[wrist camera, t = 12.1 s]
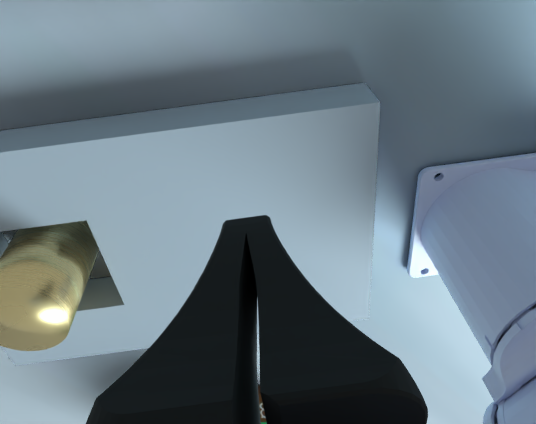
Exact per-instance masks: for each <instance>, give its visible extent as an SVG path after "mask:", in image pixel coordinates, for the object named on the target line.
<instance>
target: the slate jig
mask: <svg viewBox="0 0 536 424" xmlns="http://www.w3.org/2000/svg"><path fill="white" fill-rule="evenodd" d="M379 121H380V101H379V100H378V99H377V97H376V96H375V95H374V93H373V92H372V91H371V90H370V88H369V87H368V86H367V84H366V83H358V84H350V85H342V86H335V87H327V88H320V89H312V90H305V91H297V92H289V93H282V94H274V95H267V96H259V97H252V98H244V99H236V100H229V101H221V102H214V103H206V104H199V105H191V106H183V107H176V108H168V109H161V110H153V111H146V112H138V113H131V114H123V115H115V116H108V117H100V118H93V119H85V120H78V121H70V122H62V123H55V124H47V125H40V126H32V127H25V128H17V129H9V130H2V131H0V257H1V256H2V254H3V252H4V251H5V249H6V248H7V246H8V245H9V244H8V242H7V241H6V239H5V237H4V236H3V234H2V231H10V230H17V229H25V228H32V227H40V226H47V225H55V224H63V223H70V222H78V221H85V220H87V223H88V225H89V227H90V229H91V231H92V234H93V236H94V238H95V240H96V243H97V245H98V247H99V249H100V252H101V254H102V256H103V258H104V260H105V263H106V265H107V267H108V269H109V272H110V274H111V276H112V277H105V278H97V279H90V280H88V282H87V284H86V287H85V290H84V293H83V295H82V298H81V301H80V303H79V306H78V309H77V311H76V314H75V317H74V319H73V322H72V325H71V328H70V330H69V333H68V335H67V337H66V338H65V339H64V340H63V341H62V342H61V343H60V344H58V345H56V346H54V347H52V348H49V349H45V350H40V351H20V350H14V349H9V348H6V347H2V346H0V347H1V348H2V349H3V350H4V352H5V353H6V354H7V356H8V357H9V358H10V360H11V361H12V362H13V363H14V365H15V366H18V365H26V364H33V363H41V362H48V361H56V360H64V359H71V358H79V357H86V356H94V355H101V354H109V353H116V352H124V351H131V350H139V349H146V348H149V347H150V346H151V345H152V344H153V343H154V342H155V341H156V340H157V339H158V337H159V336H160V335H161V334H162V333H163V331H164V330H165V329H166V327H167V326H168V325H169V324H170V322H171V321H172V320H173V318H174V317H175V316H176V314H177V313H178V312H179V310H180V309H181V307H182V306H183V304H184V303H185V301H186V300H187V298H188V297H189V295H190V294H191V292H192V290H193V289H194V287H195V285H196V283H197V282H198V280H199V278H200V276H201V274H202V273H203V271H204V269H205V267H206V265H207V263H208V261H209V258H210V256H211V254H212V252H213V250H214V248H215V245H216V243H217V240H218V238H219V235H220V232H221V229H222V225H223V223H224V222H225V221H226V220H231V219H239V218H246V217H254V216H261V215H267V216H269V217H270V219H271V223H272V225H273V228H274V230H275V232H276V234H277V236H278V238H279V240H280V242H281V243H282V245H283V247H284V248H285V250H286V251H287V253H288V255H289V256H290V258H291V259H292V261H293V262H294V263H295V265H296V266H297V268H298V269H299V270H300V271H301V273H302V274H303V275H304V277H305V278H306V279H307V280H308V281H309V283H310V284H311V285H312V286H313V287H314V288H315V290H316V291H317V292H318V293H319V294H320V295H321V296H322V297H323V298H324V299H325V300H326V301H327V302H328V303H329V304H330V305H331V306H332V307H333V308H334V309H335V310H336V311H337V312H339V313H340V314H341V315H342V316H343V317H344V318H345V319H347V320H348V321H357V320H364V319H369V315H370V295H371V276H372V257H373V237H374V218H375V198H376V179H377V160H378V140H379ZM257 334H259V318H258V298H257Z"/></svg>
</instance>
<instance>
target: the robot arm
mask: <svg viewBox="0 0 536 424" xmlns="http://www.w3.org/2000/svg"><path fill="white" fill-rule="evenodd" d="M438 173H441V174H440V175H439V176H438V177H436V178H434V177H435V175H436V174H438ZM424 268H425V269H424ZM422 269H424V270H422ZM407 272H408V274H409V276H410V277H415V278H416V277H424V276H431V275H440V277H441V278H442V280H443V282H444V284H445V285H446V287H447V289H448V291H449V292H450V294H451V296H452V298H453V299H454V301H455V303H456V304H457V306H458V308H459V310H460V311H461V313H462V315H463V317H464V318H465V320H466V322H467V324H468V325H469V327H470V329H471V330H472V332H473V334H474V336H475V337H476V339H477V341H478V343H479V344H480V346H481V348H482V350H483V351H484V353H485V355H486V356H487V358H488V360H489V362H490V363H491V365H492V367H491V369H490V370H489V372H488V373H487V374H486V375H485V376H484V377H483V378H482V380H483V381H484V383H485V385H486V387H487V389H488V391H489V393H490V394H491V396H492V398H493V400H494V402H493V403H491V404H490V405H489V406H488V407H487V409H486V411H485V414H484V418H483V424H536V153H531V154H523V155H516V156H508V157H501V158H493V159H486V160H478V161H471V162H463V163H456V164H448V165H440V166H433V167H427V168H424V169H423V170H421V172H420V173H419V175H418V182H417V190H416V199H415V207H414V215H413V224H412V232H411V241H410V249H409V258H408V266H407ZM257 298H258V318H259V345H260V393H261V398H262V403H263V408H264V412H265V417H266V422H267V424H426V423H427V418H428V409H427V406H426V404H425V401H424V398H423V396H422V394H421V392H420V391H419V389H418V387H417V385H416V383H415V381H414V380H413V378H412V377H411V375H410V373H409V372H408V370H407V369H406V367H405V366H404V364H403V363H402V361H401V360H400V359H399V358H398V357H396V356H395V355H393V354H392V353H390V352H389V351H387V350H386V349H384V348H383V347H381V346H380V345H378V344H377V343H376V342H374V341H373V340H371V339H370V338H369V337H367V336H366V335H365V334H364V333H362V332H361V331H360V330H358V329H357V328H356V327H355V326H353V325H352V324H351V323H350V322H349V321H348V320H347V319H345V318H344V317H343V316H342V315H341V314H340V313H339V312H337V311H336V310H335V309H334V308H333V307H332V306H331V305H330V304H329V303H328V302H327V301H326V300H325V299H324V298H323V297H322V296H321V295H320V294H319V293H318V292H317V291H316V290H315V288H314V287H313V286H312V285H311V284H310V283H309V281H308V280H307V279H306V278H305V277H304V275H303V274H302V273H301V271H300V270H299V269H298V268H297V266H296V265H295V263H294V262H293V261H292V259H291V258H290V256H289V255H288V253H287V251H286V250H285V248H284V247H283V245H282V243H281V242H280V240H279V238H278V236H277V234H276V232H275V230H274V228H273V225H272V223H271V219H270V217H269V216H267V215H261V216H254V217H246V218H239V219H231V220H226V221H225V222H224V223H223V225H222V229H221V232H220V235H219V238H218V240H217V243H216V245H215V248H214V250H213V252H212V254H211V256H210V258H209V261H208V263H207V265H206V267H205V269H204V271H203V273H202V274H201V276H200V278H199V280H198V282H197V283H196V285H195V287H194V289H193V290H192V292H191V294H190V295H189V297H188V298H187V300H186V301H185V303H184V304H183V306H182V307H181V309H180V310H179V312H178V313H177V314H176V316H175V317H174V318H173V320H172V321H171V322H170V324H169V325H168V326H167V327H166V329H165V330H164V331H163V333H162V334H161V335H160V336H159V337H158V339H157V340H156V341H155V342H154V343H153V344H152V345H151V346H150V347H149V348H148V350H147V351H146V352H145V353H144V354H143V355H142V356H141V357H140V358H139V359H138V360H137V361H136V362H135V363H134V365H133V366H132V367H131V368H130V369H129V370H127V371H126V372H125V373H124V374H123V375H122V376H121V377H120V378H119V379H118V380H117V381H115V382H114V383H113V384H112V385H111V386H110V387H109V388H108V389H106V390H105V391H104V392H103V393H102V394H101V395H100V396H98V397H97V398H96V400H95V402H94V405H93V407H92V410H91V412H90V415H89V417H88V420H87V422H86V424H261V419H260V407H259V395H258V383H257V361H256V360H257Z"/></svg>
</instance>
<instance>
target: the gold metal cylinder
mask: <svg viewBox="0 0 536 424" xmlns="http://www.w3.org/2000/svg"><path fill="white" fill-rule="evenodd" d="M98 252H99V247H98V245H97V243H96V240H95V238H94V236H93V234H92V231H91V229H90V227H89V225H88V223H87V220H85V221H78V222H70V223H63V224H55V225H47V226H40V227H32V228H25V229H18V231H17V232H16V234H15V235H14V237H13V238H12V240H11V242H10V243H9V245H8V246H7V248H6V249H5V251H4V252H3V254H2V256H1V257H0V346H2V347H6V348H9V349H14V350H20V351H40V350H45V349H49V348H52V347H54V346H56V345H58V344H60V343H61V342H62V341H63V340H64V339H65V338H66V337H67V335H68V333H69V330H70V328H71V325H72V322H73V319H74V317H75V314H76V311H77V309H78V306H79V303H80V301H81V298H82V295H83V293H84V290H85V287H86V284H87V282H88V279H89V276H90V274H91V271H92V268H93V266H94V263H95V260H96V258H97V255H98Z"/></svg>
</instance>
